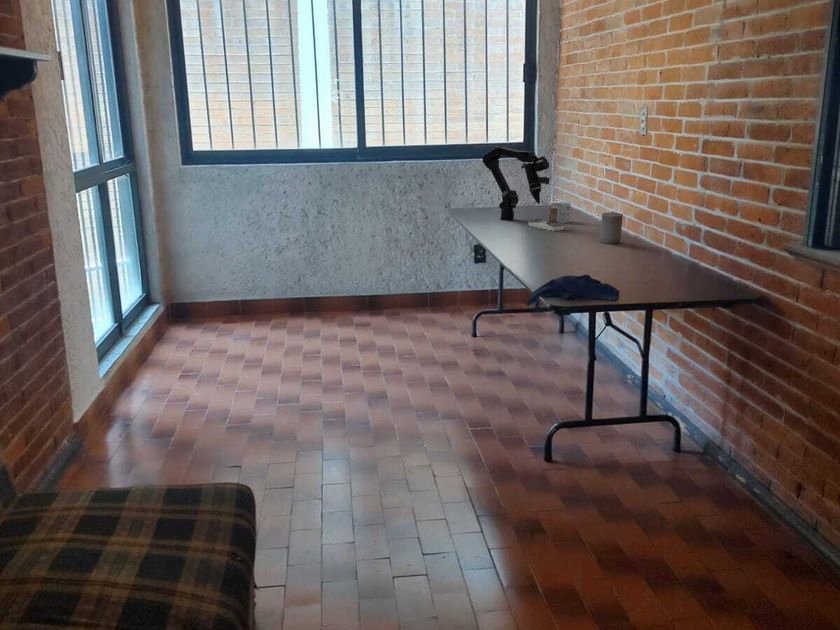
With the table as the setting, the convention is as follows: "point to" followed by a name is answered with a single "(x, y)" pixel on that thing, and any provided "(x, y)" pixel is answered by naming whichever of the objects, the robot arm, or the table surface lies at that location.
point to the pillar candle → (611, 228)
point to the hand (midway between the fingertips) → (538, 203)
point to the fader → (553, 214)
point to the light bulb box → (563, 211)
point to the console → (542, 224)
